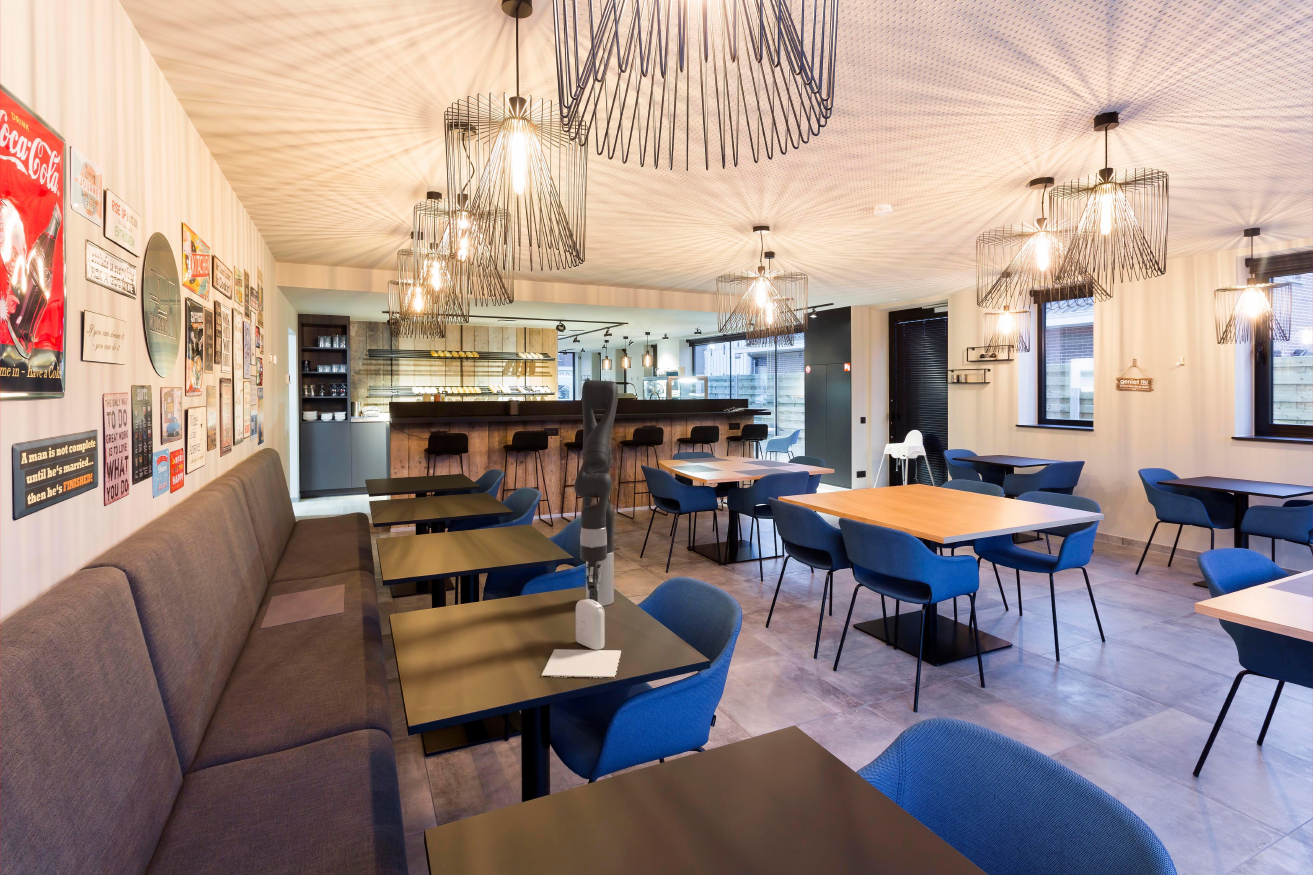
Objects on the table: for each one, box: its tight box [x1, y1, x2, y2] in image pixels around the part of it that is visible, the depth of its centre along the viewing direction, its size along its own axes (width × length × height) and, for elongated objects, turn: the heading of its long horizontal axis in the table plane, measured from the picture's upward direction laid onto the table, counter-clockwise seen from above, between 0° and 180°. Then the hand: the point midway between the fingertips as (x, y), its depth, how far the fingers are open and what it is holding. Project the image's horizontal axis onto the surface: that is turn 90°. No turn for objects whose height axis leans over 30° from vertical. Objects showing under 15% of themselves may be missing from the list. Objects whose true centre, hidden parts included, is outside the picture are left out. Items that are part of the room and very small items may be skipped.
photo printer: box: [575, 598, 606, 650], centre depth 174 cm, size 10×4×12 cm, turn 39°
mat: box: [541, 648, 622, 679], centre depth 162 cm, size 16×18×1 cm
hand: (593, 602), depth 181 cm, fingers closed
